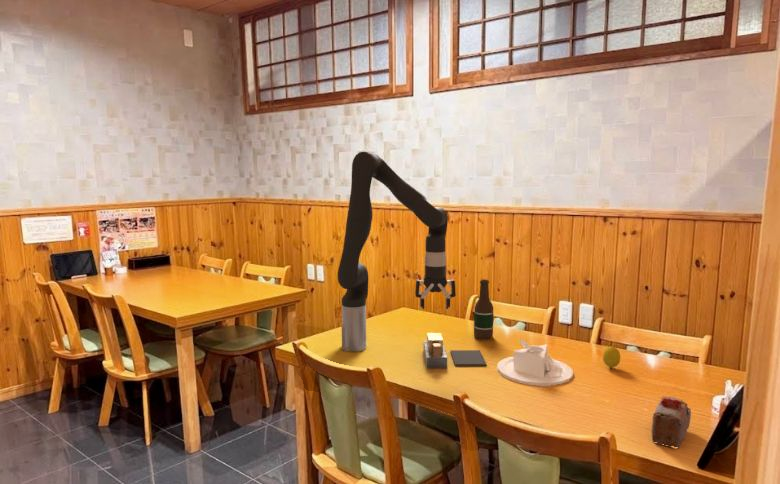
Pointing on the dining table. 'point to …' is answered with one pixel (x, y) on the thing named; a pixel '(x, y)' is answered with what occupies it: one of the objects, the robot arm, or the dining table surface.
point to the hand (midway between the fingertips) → (435, 308)
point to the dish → (534, 367)
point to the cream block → (434, 340)
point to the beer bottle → (483, 314)
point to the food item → (670, 421)
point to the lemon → (611, 357)
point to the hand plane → (435, 357)
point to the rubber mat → (467, 358)
